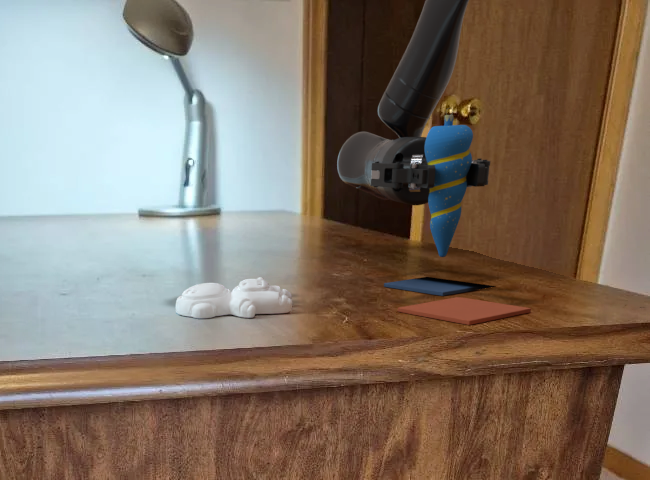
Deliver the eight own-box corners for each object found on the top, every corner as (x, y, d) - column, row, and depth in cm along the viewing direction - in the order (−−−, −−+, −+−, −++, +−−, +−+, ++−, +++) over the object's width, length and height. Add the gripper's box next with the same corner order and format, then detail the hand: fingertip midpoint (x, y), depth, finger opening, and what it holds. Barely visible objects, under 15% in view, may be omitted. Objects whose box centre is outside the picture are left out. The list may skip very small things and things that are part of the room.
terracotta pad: (458, 300, 83) (458, 296, 83) (530, 312, 76) (531, 308, 76) (397, 311, 78) (397, 307, 78) (469, 325, 72) (469, 320, 72)
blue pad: (436, 278, 97) (436, 275, 97) (496, 286, 90) (496, 283, 90) (383, 286, 92) (383, 283, 92) (442, 296, 86) (443, 292, 85)
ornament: (469, 259, 88) (482, 105, 81) (422, 261, 88) (432, 108, 81) (457, 253, 92) (469, 107, 85) (413, 254, 92) (422, 109, 85)
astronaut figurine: (290, 318, 76) (291, 286, 75) (169, 319, 78) (167, 287, 76) (294, 302, 84) (294, 272, 83) (184, 303, 85) (182, 274, 84)
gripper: (353, 138, 96) (393, 138, 81) (466, 135, 98) (526, 134, 83) (351, 204, 100) (389, 216, 85) (460, 201, 101) (516, 212, 86)
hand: (456, 176), depth 84 cm, fingers closed on ornament, 5 cm apart
